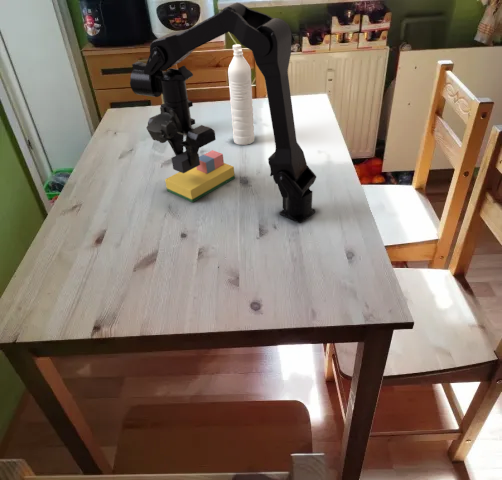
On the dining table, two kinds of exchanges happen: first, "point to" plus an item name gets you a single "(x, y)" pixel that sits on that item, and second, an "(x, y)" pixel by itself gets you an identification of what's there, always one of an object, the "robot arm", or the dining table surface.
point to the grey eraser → (184, 162)
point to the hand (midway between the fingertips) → (186, 163)
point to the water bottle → (241, 98)
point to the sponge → (199, 182)
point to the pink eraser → (210, 161)
